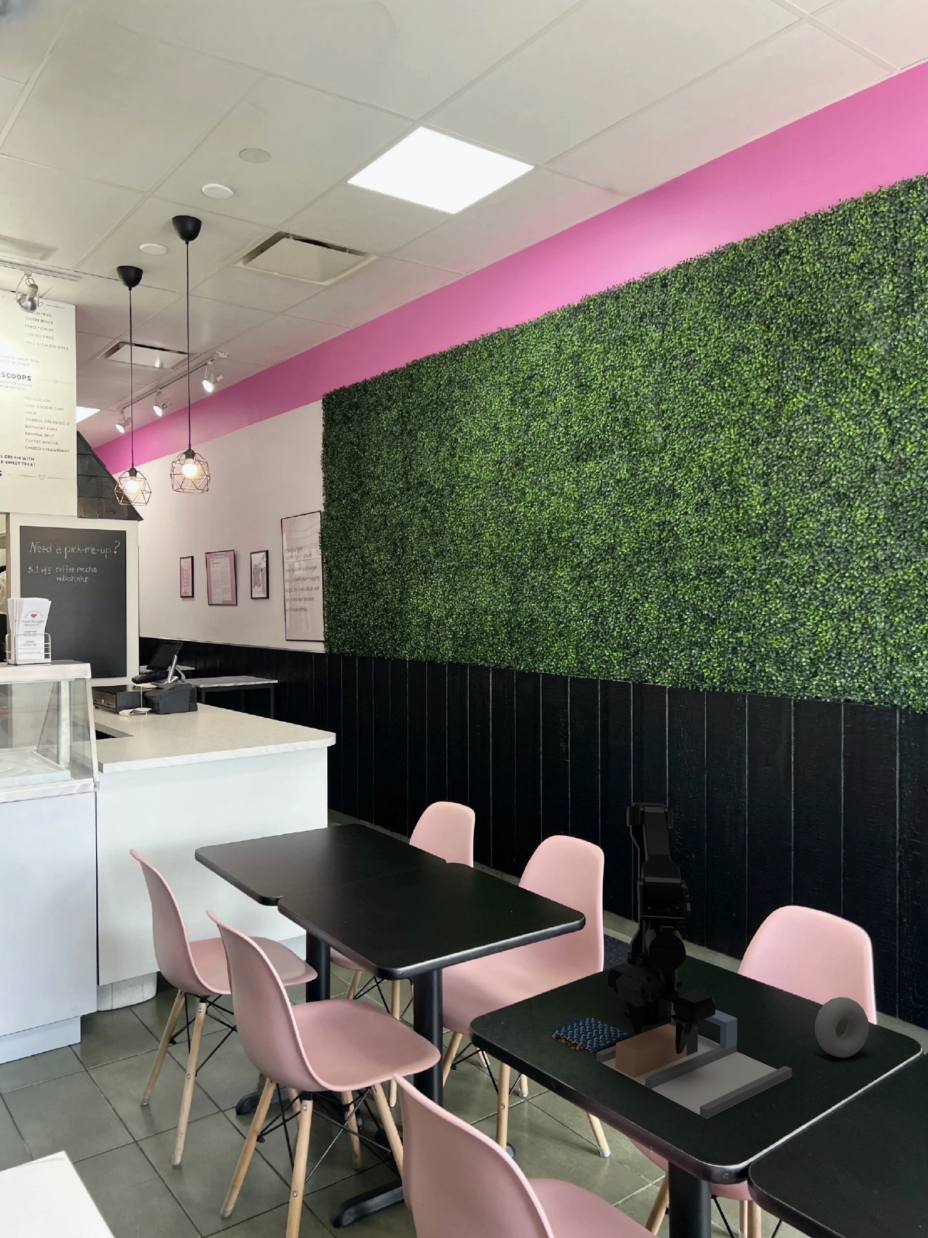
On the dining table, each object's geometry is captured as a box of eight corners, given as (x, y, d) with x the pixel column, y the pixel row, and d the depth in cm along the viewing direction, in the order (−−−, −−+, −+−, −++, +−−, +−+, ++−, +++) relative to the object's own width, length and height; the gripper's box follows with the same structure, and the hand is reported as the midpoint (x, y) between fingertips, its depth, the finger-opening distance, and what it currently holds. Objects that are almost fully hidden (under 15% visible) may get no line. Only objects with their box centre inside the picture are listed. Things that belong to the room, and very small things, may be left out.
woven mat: (594, 1063, 149) (594, 1050, 149) (548, 1040, 157) (548, 1028, 157) (634, 1046, 156) (634, 1034, 156) (588, 1025, 164) (588, 1013, 164)
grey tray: (596, 1065, 147) (597, 1025, 148) (681, 1031, 161) (682, 996, 161) (706, 1124, 130) (707, 1079, 130) (791, 1081, 144) (792, 1041, 144)
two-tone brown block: (615, 1068, 145) (616, 1043, 145) (678, 1042, 155) (679, 1019, 155) (634, 1078, 142) (634, 1052, 142) (697, 1051, 151) (698, 1027, 152)
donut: (859, 1049, 156) (859, 991, 156) (872, 1058, 152) (873, 999, 153) (809, 1055, 153) (810, 996, 153) (822, 1064, 150) (823, 1004, 150)
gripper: (585, 941, 151) (583, 1035, 151) (673, 976, 136) (671, 1080, 136) (630, 930, 158) (628, 1019, 157) (718, 962, 143) (716, 1060, 143)
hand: (658, 1043), depth 148 cm, fingers open, 8 cm apart
